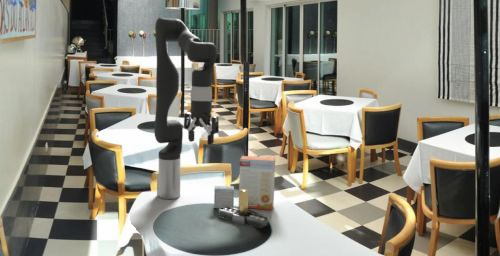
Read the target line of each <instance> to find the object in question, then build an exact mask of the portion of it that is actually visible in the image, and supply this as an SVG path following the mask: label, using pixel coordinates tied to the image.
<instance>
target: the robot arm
mask: <svg viewBox="0 0 500 256" xmlns="http://www.w3.org/2000/svg"><path fill="white" fill-rule="evenodd" d="M154 26H155V27H154V29H155V30H154V33H155V34H154V35H155V46H156V47H155V49H156V75H155V76H156V80H155V82H156V84H155V89H156V99H155V100H156V103H155V105H156V106H155V117H154V131H153V133H154V137H155V141H156V142H157V143H159V144H166V146H164V147H163V148H161V149H160V150H159V152H158V173H157V174H156V196H158V197H159V198H160V199H164V200H173V199H179V198H180V197H181V154H182V149H183V139H184V138H183V134H184V132H183V129H184V130H187V132H188V135H187V136H188V137H187V138H188V141H189V142H194V141H195V130H196V128H197V127H200V128H203V129H204V130H205V131H206V132H207V141H206V142H207V146H211V145H213V144H214V142H215V141H214V139H215V138H214V137H215V136H214V135H215V134H218V133H219V131H220V130H219V129H220V128H219V127H220V126H219V125H220V124H219V122H220V121H219V116H212V111H213V90H212V88H213V87H212V77H213V76H212V75H213V71H214V67H215V64H216V61H217V56H218V49H217V46H216V45H215V44H214V43H213V42H203V41H202V40H201V39H200V38H199V37H198V36H196V35H195V34H193V33H192V32H191V31H190V30H189V28H188V27H187V26H186V25H185V23H184V22H183V21H182V20H181V19H178V18H171V17H169V18H168V17H159V18H157V19H156V21H155V25H154ZM167 42H170V43H171V42H172V43H175V42H177V44H178V46H179V48H180V50H182V51H183V52H185V53H186V56H187V59H188V60H189V61H190V62H192V63H203V65H202V66H201V68H198V69H193V71H192V72H191V89H190V111H191V112H186V113H184V115H183V117H184V118H183V126H182V124H181V122H180V120H177V119H172V120H168V118H169V117H168V115H169V112H170V111H169V110H170V108H171V107H172V104H173V103H174V100H175V99H176V97H177V95H178V93H179V89H180V74H179V71H178V69H177V68H176V65H175V64H174V63H173V61H172V59H171V57H170V55H169V53H168V49H167Z"/></svg>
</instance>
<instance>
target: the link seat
mask: <svg viewBox="0 0 500 256" xmlns="http://www.w3.org/2000/svg"><path fill="white" fill-rule="evenodd" d="M251 213H254V212H253V211H250V210H248V217H249V215H251ZM232 223H236V224H238V225H243V226H244V225H246V224H245V217H244V216H240V215H237V214H233V221H232Z"/></svg>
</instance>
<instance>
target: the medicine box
mask: <svg viewBox="0 0 500 256" xmlns="http://www.w3.org/2000/svg"><path fill="white" fill-rule="evenodd" d="M234 188H235V186H233V185H214V190H213V191H214V197H213V198H214V200H213V201H214V202H213V203H214V204H213V205H214V206H213V209H214V208H225V206H228V207H232V208H235V206H234V205H235V204H234V201H235V200H234V199H235V198H234V197H235V189H234Z"/></svg>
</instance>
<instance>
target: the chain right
mask: <svg viewBox="0 0 500 256" xmlns="http://www.w3.org/2000/svg"><path fill="white" fill-rule="evenodd" d="M245 225H248V226H250V227H252V228H253V227H254V228H257V229H260V230H262V229H263V228H265V227H267V226H268V225H269V217H268V216H265V215H262V214H258V213H251V215H249V217H248V216H246V220H245Z"/></svg>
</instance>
